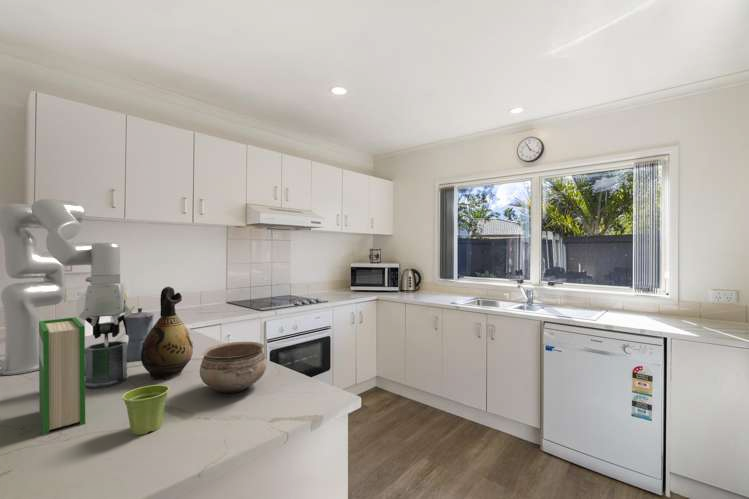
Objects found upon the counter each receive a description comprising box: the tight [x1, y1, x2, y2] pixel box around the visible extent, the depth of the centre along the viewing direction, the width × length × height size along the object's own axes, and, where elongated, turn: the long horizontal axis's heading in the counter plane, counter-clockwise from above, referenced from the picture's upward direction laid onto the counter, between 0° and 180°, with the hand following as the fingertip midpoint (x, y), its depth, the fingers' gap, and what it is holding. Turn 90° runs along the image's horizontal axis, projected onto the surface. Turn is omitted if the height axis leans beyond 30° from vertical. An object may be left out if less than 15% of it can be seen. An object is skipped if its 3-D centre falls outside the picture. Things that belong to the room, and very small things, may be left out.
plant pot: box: [121, 384, 170, 435], centre depth 83 cm, size 9×9×9 cm
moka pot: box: [122, 307, 155, 362], centre depth 140 cm, size 10×15×20 cm, turn 78°
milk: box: [76, 283, 112, 337], centre depth 186 cm, size 12×12×26 cm
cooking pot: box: [199, 341, 268, 394], centre depth 107 cm, size 25×19×12 cm
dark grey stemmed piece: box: [99, 321, 114, 348], centre depth 114 cm, size 7×7×14 cm
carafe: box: [85, 340, 128, 390], centre depth 113 cm, size 14×11×12 cm
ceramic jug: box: [140, 286, 194, 381], centre depth 121 cm, size 17×15×30 cm
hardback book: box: [38, 316, 86, 436], centre depth 89 cm, size 18×7×24 cm, turn 46°
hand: (106, 336), depth 114 cm, fingers closed on dark grey stemmed piece, 4 cm apart
